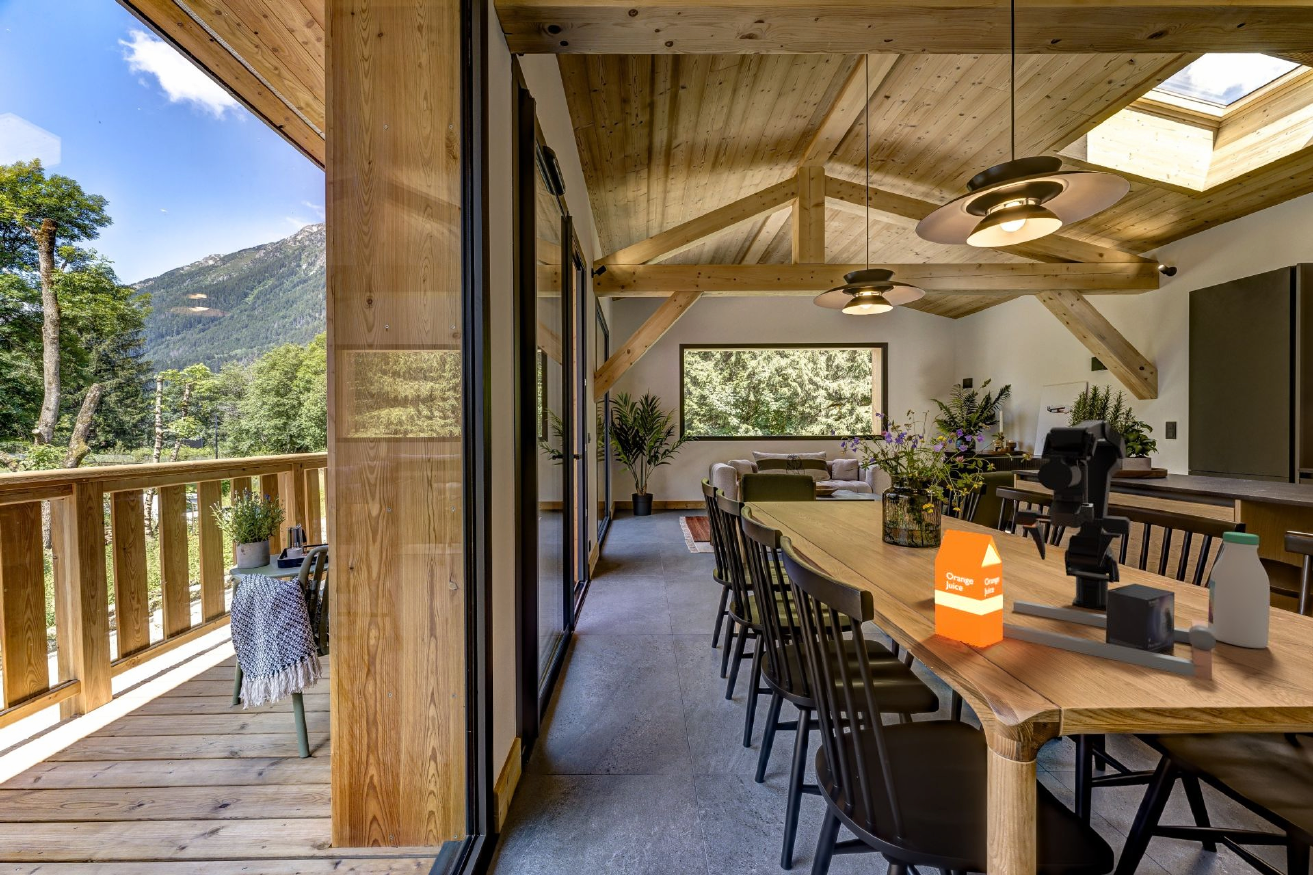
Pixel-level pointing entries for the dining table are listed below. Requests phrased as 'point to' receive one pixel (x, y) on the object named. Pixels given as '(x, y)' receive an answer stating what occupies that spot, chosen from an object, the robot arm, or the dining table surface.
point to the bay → (1196, 636)
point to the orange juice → (968, 589)
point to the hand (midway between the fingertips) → (1070, 562)
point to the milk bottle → (1239, 594)
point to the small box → (1140, 618)
